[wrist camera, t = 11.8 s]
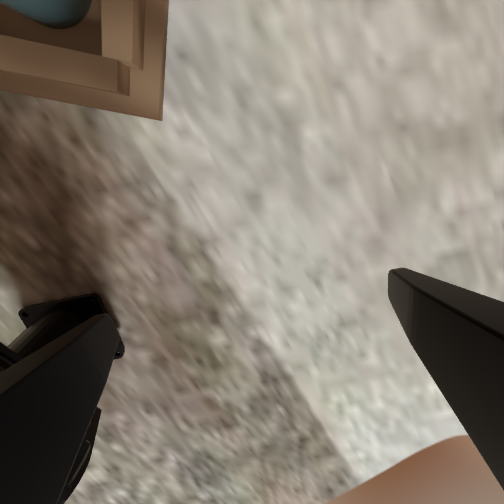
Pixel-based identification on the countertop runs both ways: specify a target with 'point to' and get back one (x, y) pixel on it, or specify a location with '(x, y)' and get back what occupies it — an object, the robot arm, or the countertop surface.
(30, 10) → the tall jar
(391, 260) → the countertop surface
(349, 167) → the countertop surface
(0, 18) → the open box
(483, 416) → the robot arm
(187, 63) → the countertop surface
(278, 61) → the countertop surface
